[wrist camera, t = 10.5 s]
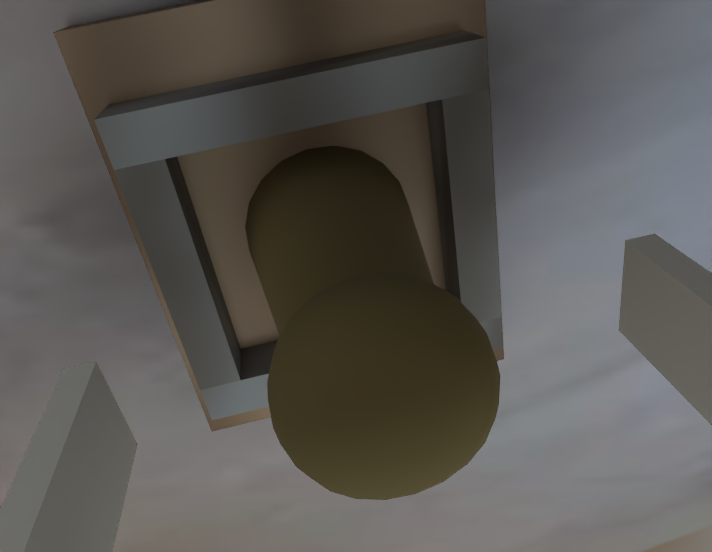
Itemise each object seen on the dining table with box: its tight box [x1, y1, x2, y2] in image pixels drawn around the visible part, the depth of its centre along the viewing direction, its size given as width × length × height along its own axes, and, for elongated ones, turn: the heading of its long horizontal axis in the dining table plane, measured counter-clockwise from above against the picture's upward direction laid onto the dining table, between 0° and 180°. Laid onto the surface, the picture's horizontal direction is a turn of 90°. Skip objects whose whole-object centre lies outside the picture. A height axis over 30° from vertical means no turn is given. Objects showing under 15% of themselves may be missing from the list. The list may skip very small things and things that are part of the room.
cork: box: [245, 146, 500, 500], centre depth 17 cm, size 6×6×11 cm
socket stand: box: [53, 0, 504, 431], centre depth 21 cm, size 13×16×4 cm
